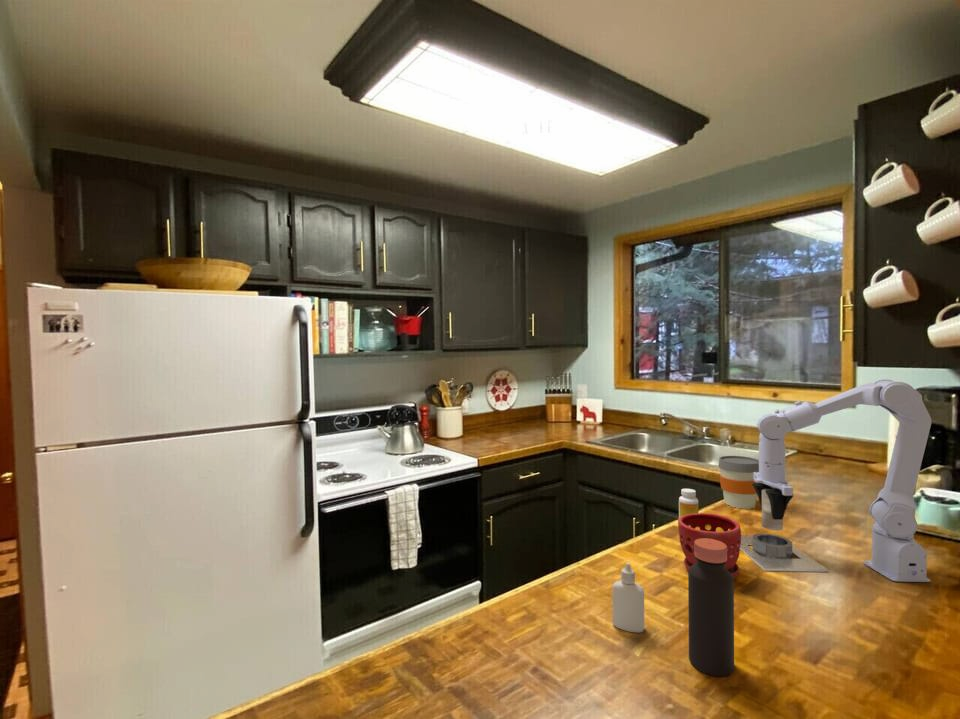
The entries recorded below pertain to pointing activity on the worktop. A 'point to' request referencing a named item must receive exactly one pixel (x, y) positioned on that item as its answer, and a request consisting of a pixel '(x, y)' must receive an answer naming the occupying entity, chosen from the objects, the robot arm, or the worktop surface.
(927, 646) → the worktop surface
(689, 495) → the supplement bottle
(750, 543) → the collar stand
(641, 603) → the eye dropper bottle
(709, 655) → the dark water bottle
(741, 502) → the reusable coffee cup
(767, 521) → the peg
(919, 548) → the robot arm
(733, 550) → the plant pot
